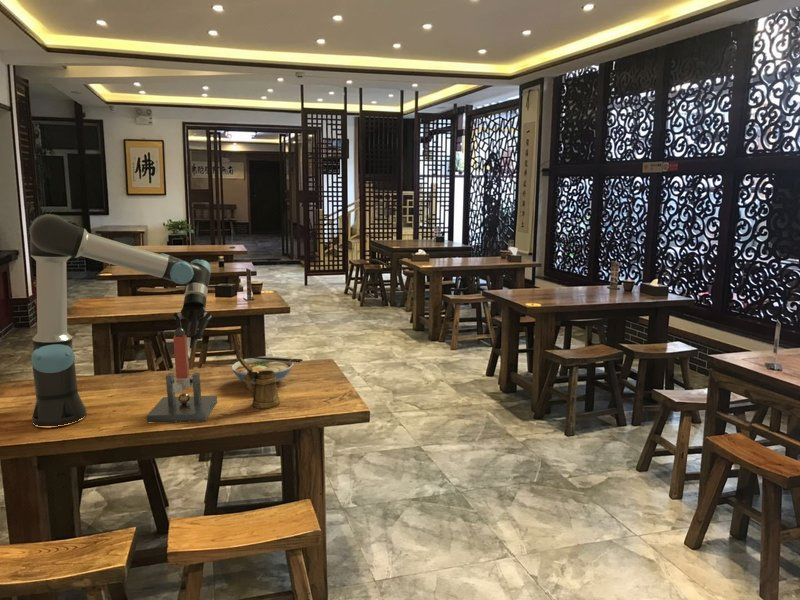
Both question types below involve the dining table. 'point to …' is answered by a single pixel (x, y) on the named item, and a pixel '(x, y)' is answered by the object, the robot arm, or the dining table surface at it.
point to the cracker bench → (182, 404)
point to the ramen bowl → (265, 366)
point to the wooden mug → (261, 386)
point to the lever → (181, 361)
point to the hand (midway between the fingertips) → (186, 356)
